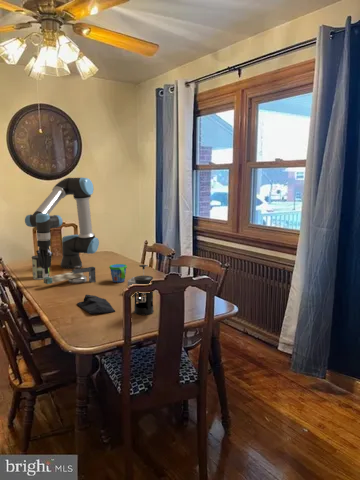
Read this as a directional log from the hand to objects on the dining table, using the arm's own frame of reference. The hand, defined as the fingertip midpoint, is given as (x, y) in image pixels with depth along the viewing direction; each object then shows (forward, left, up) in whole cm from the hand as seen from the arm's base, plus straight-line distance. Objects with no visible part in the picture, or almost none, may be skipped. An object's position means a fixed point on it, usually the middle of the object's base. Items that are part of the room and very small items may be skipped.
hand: (45, 278), depth 224 cm
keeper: (-18, +13, -4) cm, 23 cm away
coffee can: (-8, -19, -4) cm, 21 cm away
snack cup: (-34, +26, -4) cm, 43 cm away
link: (-9, +6, -1) cm, 11 cm away
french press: (-4, +78, -4) cm, 79 cm away
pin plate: (-18, +6, -4) cm, 20 cm away
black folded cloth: (+6, +55, -5) cm, 56 cm away
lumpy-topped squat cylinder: (-26, +53, -4) cm, 59 cm away
